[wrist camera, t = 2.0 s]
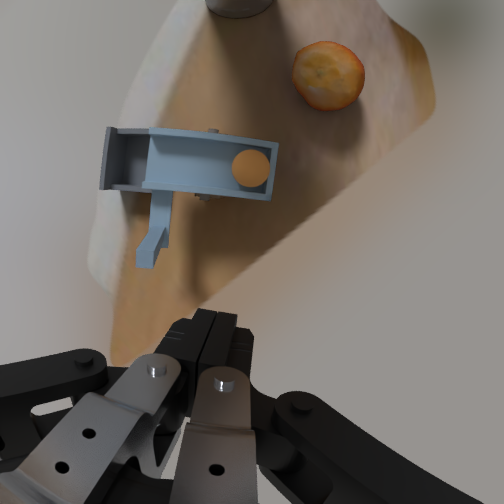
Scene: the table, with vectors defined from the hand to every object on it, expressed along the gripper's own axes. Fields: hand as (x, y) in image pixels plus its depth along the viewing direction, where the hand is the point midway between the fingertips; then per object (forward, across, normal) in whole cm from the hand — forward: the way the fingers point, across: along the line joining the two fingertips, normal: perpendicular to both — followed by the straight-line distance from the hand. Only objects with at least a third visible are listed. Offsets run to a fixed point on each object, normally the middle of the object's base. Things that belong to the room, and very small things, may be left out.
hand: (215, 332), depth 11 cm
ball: (+17, +1, -7) cm, 19 cm away
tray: (+24, +14, -7) cm, 29 cm away
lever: (+19, +5, -4) cm, 20 cm away
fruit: (+25, -6, -19) cm, 32 cm away
